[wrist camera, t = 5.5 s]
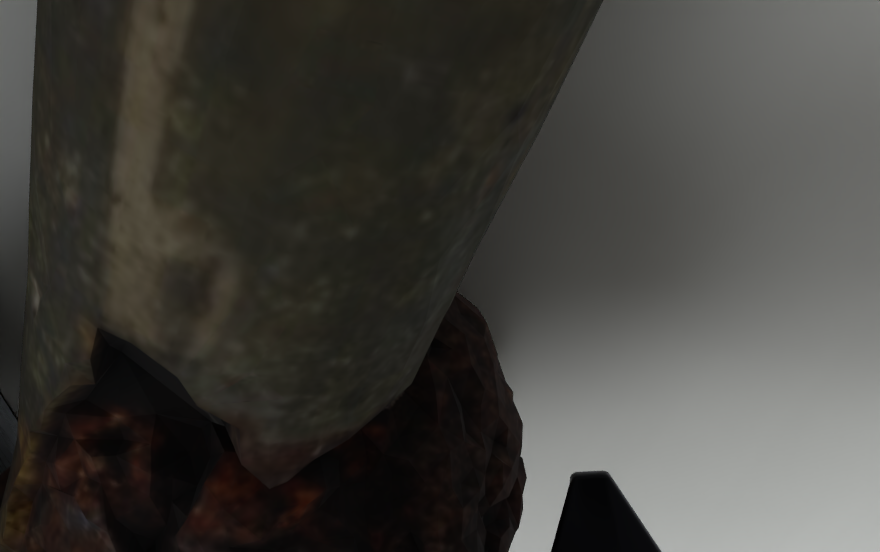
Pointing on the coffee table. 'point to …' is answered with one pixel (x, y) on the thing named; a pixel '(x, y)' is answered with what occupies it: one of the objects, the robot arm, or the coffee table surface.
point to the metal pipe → (272, 273)
